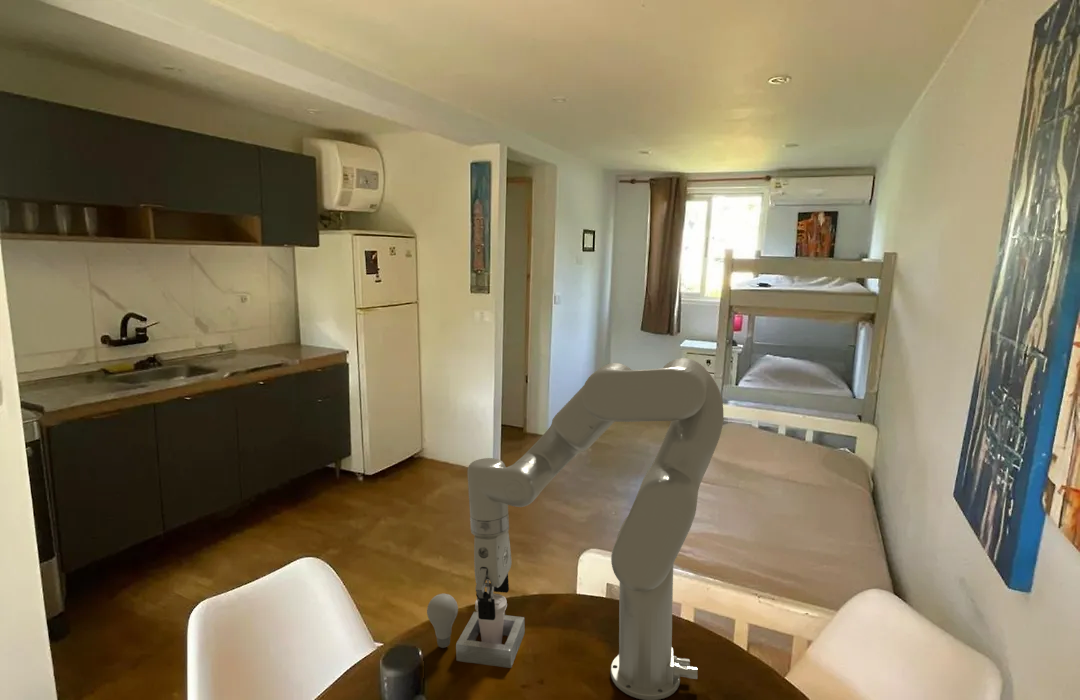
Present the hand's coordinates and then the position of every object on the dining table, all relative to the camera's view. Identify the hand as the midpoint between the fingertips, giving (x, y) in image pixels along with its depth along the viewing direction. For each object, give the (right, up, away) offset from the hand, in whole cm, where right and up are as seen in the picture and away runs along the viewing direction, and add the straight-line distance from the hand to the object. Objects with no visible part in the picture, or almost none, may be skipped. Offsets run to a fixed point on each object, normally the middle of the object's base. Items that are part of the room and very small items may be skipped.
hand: (494, 604), depth 112 cm
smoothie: (-1, -9, +1) cm, 9 cm away
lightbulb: (-10, -9, +1) cm, 14 cm away
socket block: (-1, -9, +1) cm, 9 cm away
